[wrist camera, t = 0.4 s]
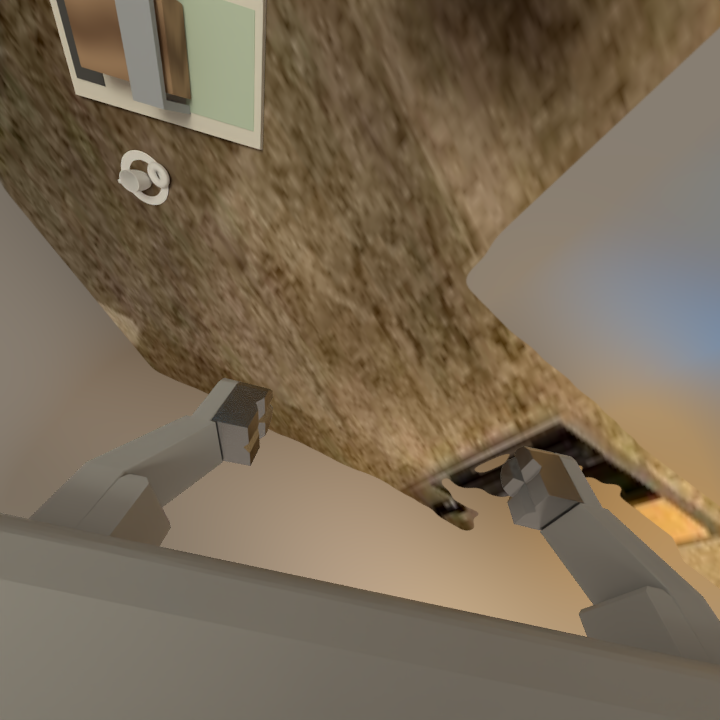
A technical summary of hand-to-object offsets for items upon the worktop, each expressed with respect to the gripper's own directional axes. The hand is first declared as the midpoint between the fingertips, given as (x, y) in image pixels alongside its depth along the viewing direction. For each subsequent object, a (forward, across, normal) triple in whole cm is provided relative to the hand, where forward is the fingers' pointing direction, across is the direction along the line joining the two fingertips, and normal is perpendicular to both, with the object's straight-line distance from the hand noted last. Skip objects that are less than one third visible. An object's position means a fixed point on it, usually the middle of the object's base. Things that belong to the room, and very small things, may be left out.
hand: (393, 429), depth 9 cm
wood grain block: (+45, +39, -12) cm, 61 cm away
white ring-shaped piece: (+47, +42, +7) cm, 63 cm away
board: (+47, +37, -12) cm, 61 cm away
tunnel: (+47, +35, -12) cm, 60 cm away
